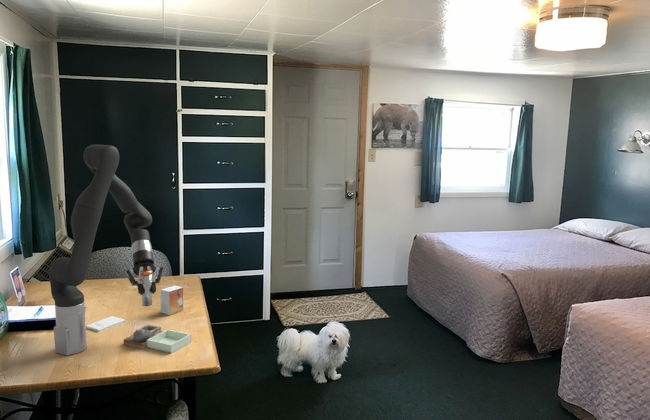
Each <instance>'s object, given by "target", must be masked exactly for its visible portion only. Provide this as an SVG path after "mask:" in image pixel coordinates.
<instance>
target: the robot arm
mask: <svg viewBox="0 0 650 420" xmlns="http://www.w3.org/2000/svg"><path fill="white" fill-rule="evenodd" d="M82 155H83V161H84V163H85V165H86V166H87V167H88V169H89V170H90V171H91V172H92V173H93V174H94V176H93V179H92V180H91V182H90V184H89V185H88V186H87V187H86V188H85V189H84V190H83V191H82V192H81V194H80V195H79V196H78V198H77V199H76V200H75V203H74V206H73V210H72V213H71V216H70V226H71V231H72V235H73V236H72V237H73V247H72V251H71V255H70V257H66V256H61V257H57V258H56V259H54V260H53V262H52V263H51V264H50V267H49V283H50V293H51V296H52V297H51V298H53V301H54V309H55V326H53V337H54V352H55V353H57V354H61V355H64V356H67V357H68V356H70V355H74V354H78V353H81V352H83V351H85V350H86V349H87V347H88V346H87V343H88V342H87V328H86V310H85V309H86V308H85V296H84V295H85V294H84V293H83V292H82V291H81V290H79V288H78V287H77V286H80V285H82V284H83V283H84V281H85V280H86V279H87V276H88V273H89V268H90V263H91V262H90V261H91V257H92V252H93V246H94V242H95V237H96V234H97V230H98V228H99V224H100V221H101V217H102V214H103V209H104V207H105V206H104V205H105V203H106V199H107V196H108V193H110V195H111V196H112V198H113V199H114V201H115V202H116V204H117V206H118V208H119V209H120V210H121V212H122V213H125V216H124V217H123V218H124V219H123V223H124V225H125V228H126V229H127V231H128V234H129V237H130V240H131V241H130V242H131V256H132V265H133V267H132V269H127V270H126V271H125V276H126V277H127V280H128V281H129V282H130V284H131V285H132V286H136V287H137V293H138V294H139V295H140V296H142V295H143V289H142V281H141V271H142V270H152V295H155V293H156V292H157V286H156V285H157V284H160V282H161V279H162V274H163V271H164V267H163V266H161V267H157V265H155V260H154V254H153V253H154V252H153V247H152V243H151V236H150V232H149V231H148V229H144V228H146V227H149V226H150V225H151V224H152V223H153V217H152V215H151V213H150V211H149V210H147V209H146V207H144V206H143V205H142V204H141V203H140V202H139V200H138V199H137V198H136V196H135V194H134V193H133V191H132V190H131V188H130V186H128V185H127V184H126V183H125V182H124V181H123V180H122V179H120V178H119V177H118V175H116V172H117V169H118V166H119V163H120V153H119V150H118V148H117V147H116V146H114V145H109V144H90V145H87V146H86V147H85V149H84V151H83V154H82ZM155 272H156V273H157V277H156V278H155V276H154V273H155ZM133 274H135V276H137V277H138V278H137V280H136V279H135V277H134V275H133Z"/></svg>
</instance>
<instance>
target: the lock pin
mask: <svg viewBox="0 0 650 420" xmlns="http://www.w3.org/2000/svg"><path fill="white" fill-rule="evenodd" d="M141 284H142V289H143V295H141V306H142V307H150V306H153V294H152V270H142V271H141Z"/></svg>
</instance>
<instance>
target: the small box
mask: <svg viewBox="0 0 650 420" xmlns="http://www.w3.org/2000/svg"><path fill="white" fill-rule="evenodd" d="M159 293H160V313H161V314H164V315H168V316H171V315H174V314H177V313H180V312H183V311H184V288H183V287H182V286H178V285H172V286H169V287H165V288H162V289H160V291H159Z"/></svg>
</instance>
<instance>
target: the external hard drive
mask: <svg viewBox="0 0 650 420" xmlns="http://www.w3.org/2000/svg"><path fill="white" fill-rule="evenodd" d="M124 323H126V319H124V318H120V317H117V316H113V315H111V316H109V317H108V316H107V317H106V318H103V319H100V320H97V321H95V322H92V323H89V324H87V325H86V330H90V331H94V332H97V333H100V332H103V331H105V330H107V329H111V328H113V327H116V326H119V325H121V324H124Z"/></svg>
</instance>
